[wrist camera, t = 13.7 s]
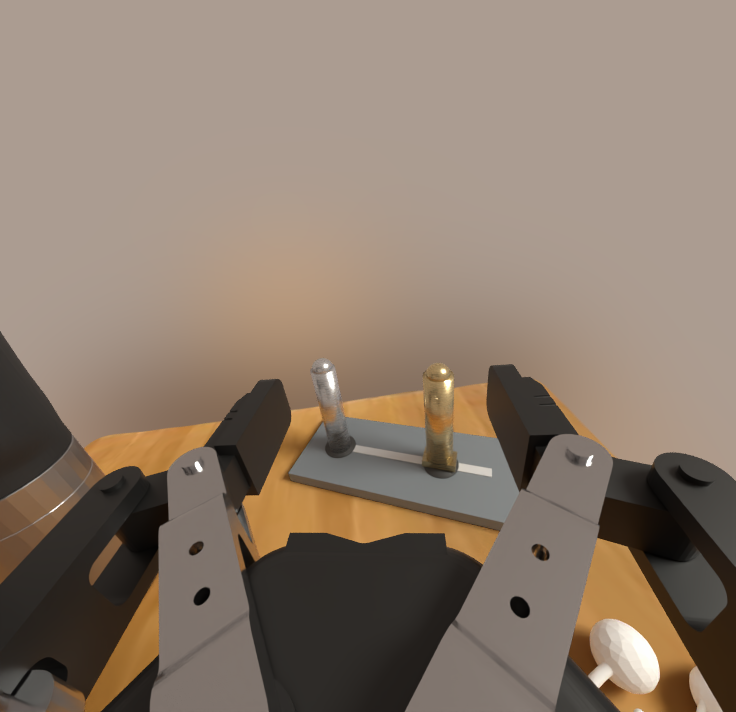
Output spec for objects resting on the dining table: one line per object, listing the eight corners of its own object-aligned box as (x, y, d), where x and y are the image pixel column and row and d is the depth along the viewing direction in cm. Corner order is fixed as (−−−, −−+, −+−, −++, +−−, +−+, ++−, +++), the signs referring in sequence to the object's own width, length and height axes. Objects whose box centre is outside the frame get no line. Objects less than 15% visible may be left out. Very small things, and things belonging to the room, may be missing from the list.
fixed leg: (326, 452, 43) (303, 365, 36) (335, 437, 45) (315, 353, 38) (346, 455, 42) (325, 367, 35) (354, 440, 44) (336, 354, 37)
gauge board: (291, 480, 41) (287, 472, 40) (329, 421, 51) (327, 413, 50) (522, 535, 31) (524, 526, 30) (515, 449, 41) (516, 440, 40)
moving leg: (421, 468, 38) (415, 371, 31) (426, 449, 40) (421, 356, 33) (454, 475, 36) (456, 374, 29) (457, 454, 39) (459, 358, 32)
